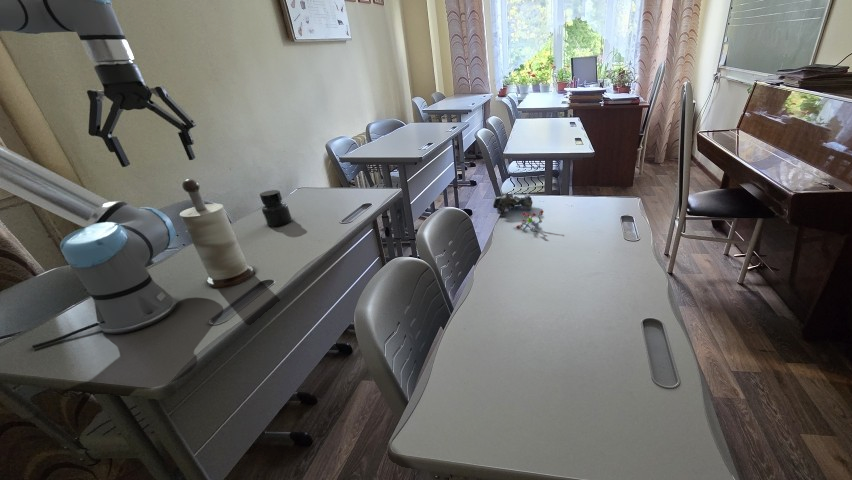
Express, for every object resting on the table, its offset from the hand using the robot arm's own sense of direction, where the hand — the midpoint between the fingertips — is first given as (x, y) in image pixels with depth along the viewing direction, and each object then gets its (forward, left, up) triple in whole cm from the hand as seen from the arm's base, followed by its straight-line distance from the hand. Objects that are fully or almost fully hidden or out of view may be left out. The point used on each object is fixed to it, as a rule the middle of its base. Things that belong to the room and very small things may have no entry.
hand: (160, 162), depth 97 cm
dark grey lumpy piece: (+98, +17, -35) cm, 105 cm away
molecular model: (+97, -1, -35) cm, 103 cm away
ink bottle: (+11, +46, -35) cm, 59 cm away
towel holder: (+3, +9, -20) cm, 22 cm away
